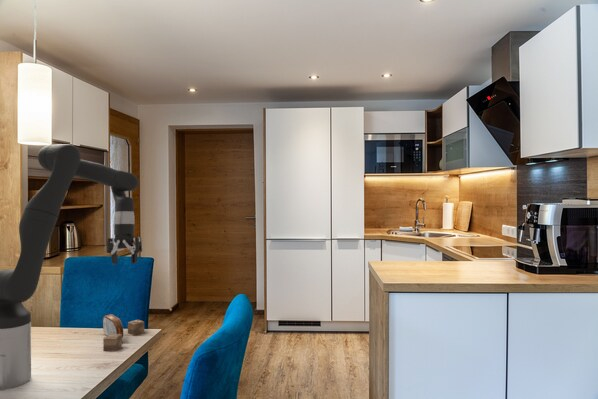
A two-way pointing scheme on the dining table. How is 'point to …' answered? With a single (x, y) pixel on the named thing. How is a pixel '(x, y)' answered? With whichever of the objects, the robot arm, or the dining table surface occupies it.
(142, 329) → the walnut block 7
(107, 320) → the tin
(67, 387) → the dining table surface
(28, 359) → the robot arm
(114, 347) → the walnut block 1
